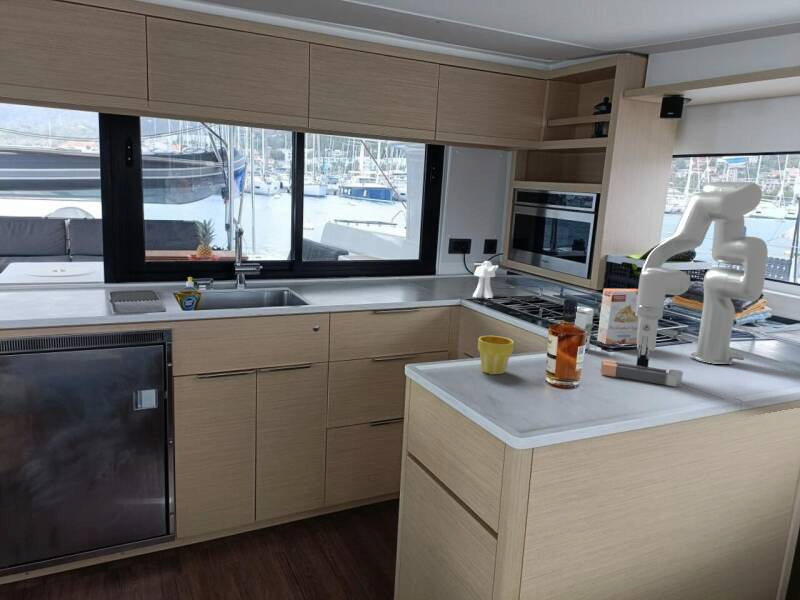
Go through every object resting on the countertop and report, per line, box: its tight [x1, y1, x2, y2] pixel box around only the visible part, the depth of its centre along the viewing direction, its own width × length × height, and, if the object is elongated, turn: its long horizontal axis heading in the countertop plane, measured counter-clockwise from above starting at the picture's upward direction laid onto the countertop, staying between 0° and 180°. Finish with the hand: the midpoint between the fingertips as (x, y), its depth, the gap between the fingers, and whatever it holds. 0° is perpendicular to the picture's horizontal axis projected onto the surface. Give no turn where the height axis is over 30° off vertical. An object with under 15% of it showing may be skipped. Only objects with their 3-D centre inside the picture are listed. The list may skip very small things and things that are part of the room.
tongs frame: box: [600, 362, 684, 388], centre depth 176 cm, size 22×5×4 cm, turn 65°
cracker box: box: [596, 288, 639, 344], centre depth 212 cm, size 14×6×21 cm, turn 105°
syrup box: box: [575, 306, 595, 350], centre depth 207 cm, size 6×6×14 cm
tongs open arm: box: [600, 358, 667, 373], centre depth 179 cm, size 18×3×3 cm, turn 66°
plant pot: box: [477, 335, 514, 375], centre depth 177 cm, size 10×10×10 cm
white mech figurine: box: [472, 260, 500, 299], centre depth 300 cm, size 12×13×18 cm
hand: (641, 370), depth 181 cm, fingers closed
